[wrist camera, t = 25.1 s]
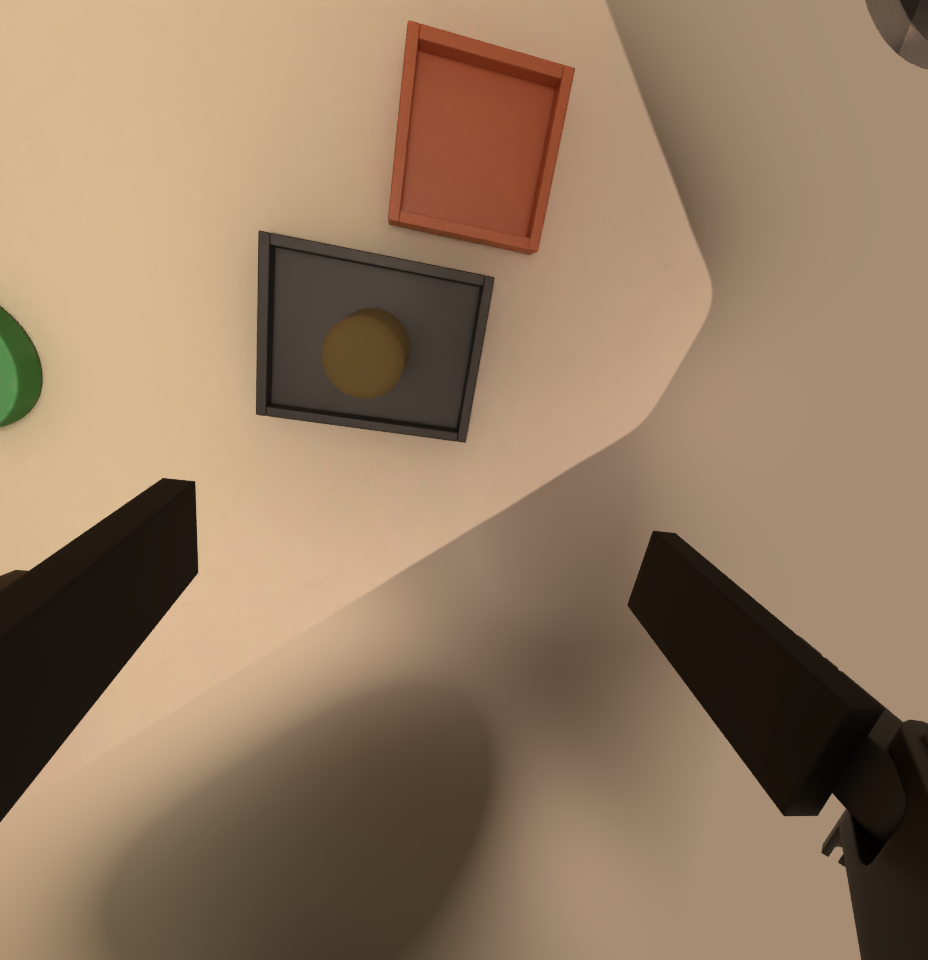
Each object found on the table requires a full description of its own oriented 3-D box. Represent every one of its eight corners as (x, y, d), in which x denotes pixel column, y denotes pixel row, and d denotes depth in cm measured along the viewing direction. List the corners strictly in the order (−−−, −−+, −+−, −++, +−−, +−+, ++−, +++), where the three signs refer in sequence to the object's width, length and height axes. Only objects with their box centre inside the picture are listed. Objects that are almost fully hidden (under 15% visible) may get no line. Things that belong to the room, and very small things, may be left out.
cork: (375, 291, 36) (362, 284, 26) (425, 351, 38) (431, 366, 28) (320, 341, 37) (287, 354, 27) (372, 397, 39) (360, 429, 29)
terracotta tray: (565, 82, 33) (575, 67, 31) (531, 254, 37) (537, 251, 35) (407, 37, 31) (407, 19, 29) (388, 224, 35) (387, 219, 33)
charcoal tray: (490, 278, 37) (494, 277, 35) (462, 436, 42) (465, 442, 40) (266, 234, 34) (258, 230, 32) (263, 409, 39) (255, 414, 37)
